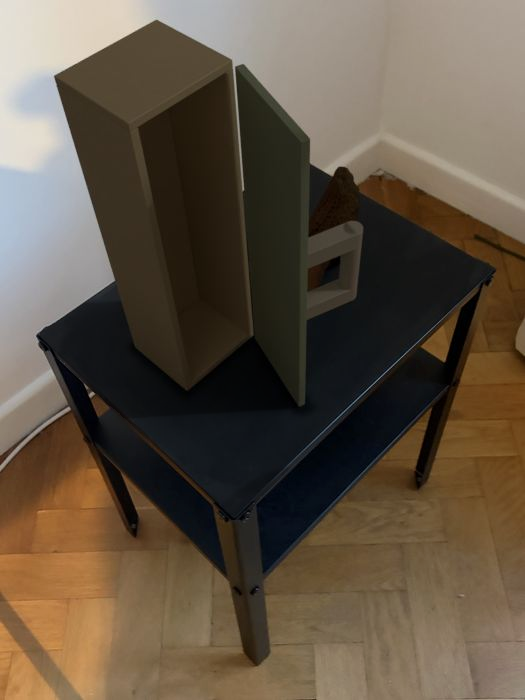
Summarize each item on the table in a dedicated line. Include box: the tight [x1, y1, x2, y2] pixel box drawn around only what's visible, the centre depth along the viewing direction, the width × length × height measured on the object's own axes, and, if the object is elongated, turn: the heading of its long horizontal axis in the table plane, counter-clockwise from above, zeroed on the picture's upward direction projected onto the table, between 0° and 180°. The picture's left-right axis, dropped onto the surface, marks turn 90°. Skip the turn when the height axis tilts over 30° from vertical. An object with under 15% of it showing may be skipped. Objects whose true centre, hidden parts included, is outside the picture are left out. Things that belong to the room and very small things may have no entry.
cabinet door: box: [234, 63, 364, 408], centre depth 61 cm, size 6×9×31 cm
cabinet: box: [53, 19, 255, 392], centre depth 63 cm, size 8×9×31 cm
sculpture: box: [249, 166, 361, 297], centre depth 76 cm, size 8×10×15 cm
